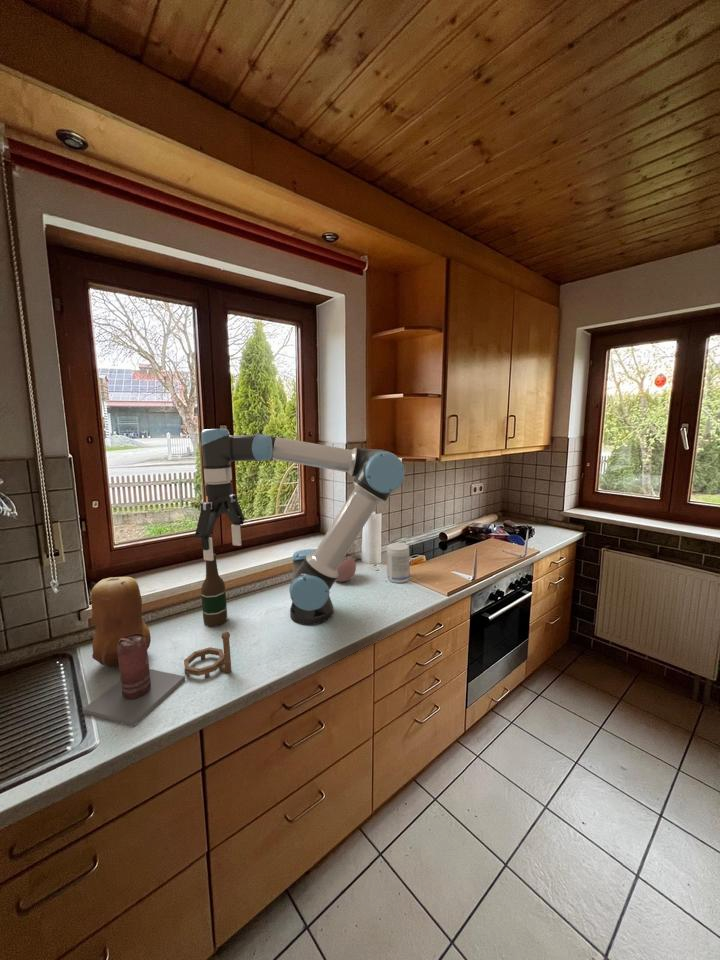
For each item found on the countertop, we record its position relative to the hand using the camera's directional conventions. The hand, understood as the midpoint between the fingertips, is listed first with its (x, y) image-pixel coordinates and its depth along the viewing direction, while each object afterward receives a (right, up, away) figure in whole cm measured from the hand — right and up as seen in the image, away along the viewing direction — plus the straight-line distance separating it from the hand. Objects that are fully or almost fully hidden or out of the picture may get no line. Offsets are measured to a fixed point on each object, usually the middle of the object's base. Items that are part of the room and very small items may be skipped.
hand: (223, 552), depth 113 cm
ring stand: (0, -30, -9) cm, 32 cm away
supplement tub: (+57, -21, +49) cm, 78 cm away
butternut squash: (-26, -31, -5) cm, 41 cm away
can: (-15, -31, -19) cm, 40 cm away
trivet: (-15, -32, -19) cm, 40 cm away
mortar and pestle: (+33, -21, +48) cm, 62 cm away
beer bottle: (-8, -27, +16) cm, 33 cm away
